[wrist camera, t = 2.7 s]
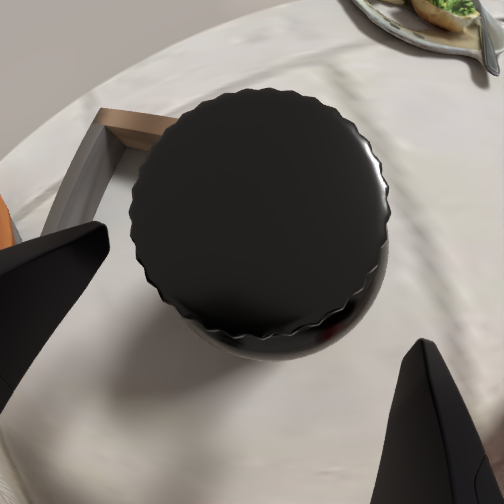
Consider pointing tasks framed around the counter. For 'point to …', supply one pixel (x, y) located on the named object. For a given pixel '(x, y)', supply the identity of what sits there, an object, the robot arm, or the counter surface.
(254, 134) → the supplement bottle
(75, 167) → the corner bracket
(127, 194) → the counter surface
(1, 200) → the pie
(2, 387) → the robot arm
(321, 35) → the counter surface
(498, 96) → the counter surface
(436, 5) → the salad plate
